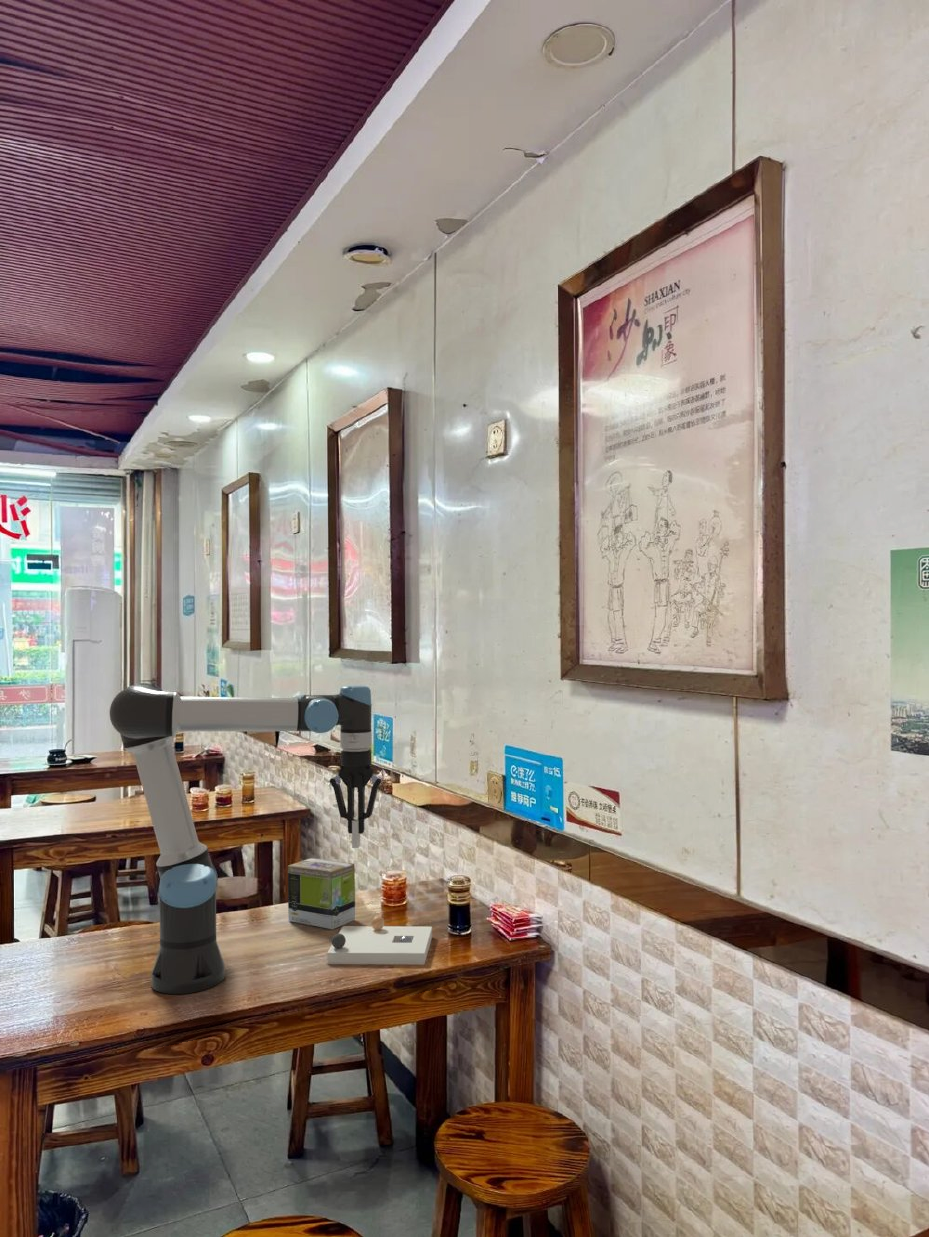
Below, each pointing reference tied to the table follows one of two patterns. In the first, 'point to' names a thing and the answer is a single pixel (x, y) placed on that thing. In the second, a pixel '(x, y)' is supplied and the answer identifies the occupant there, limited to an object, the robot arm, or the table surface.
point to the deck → (382, 945)
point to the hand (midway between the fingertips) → (356, 846)
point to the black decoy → (338, 940)
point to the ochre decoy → (377, 923)
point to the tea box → (321, 893)
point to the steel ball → (405, 939)
